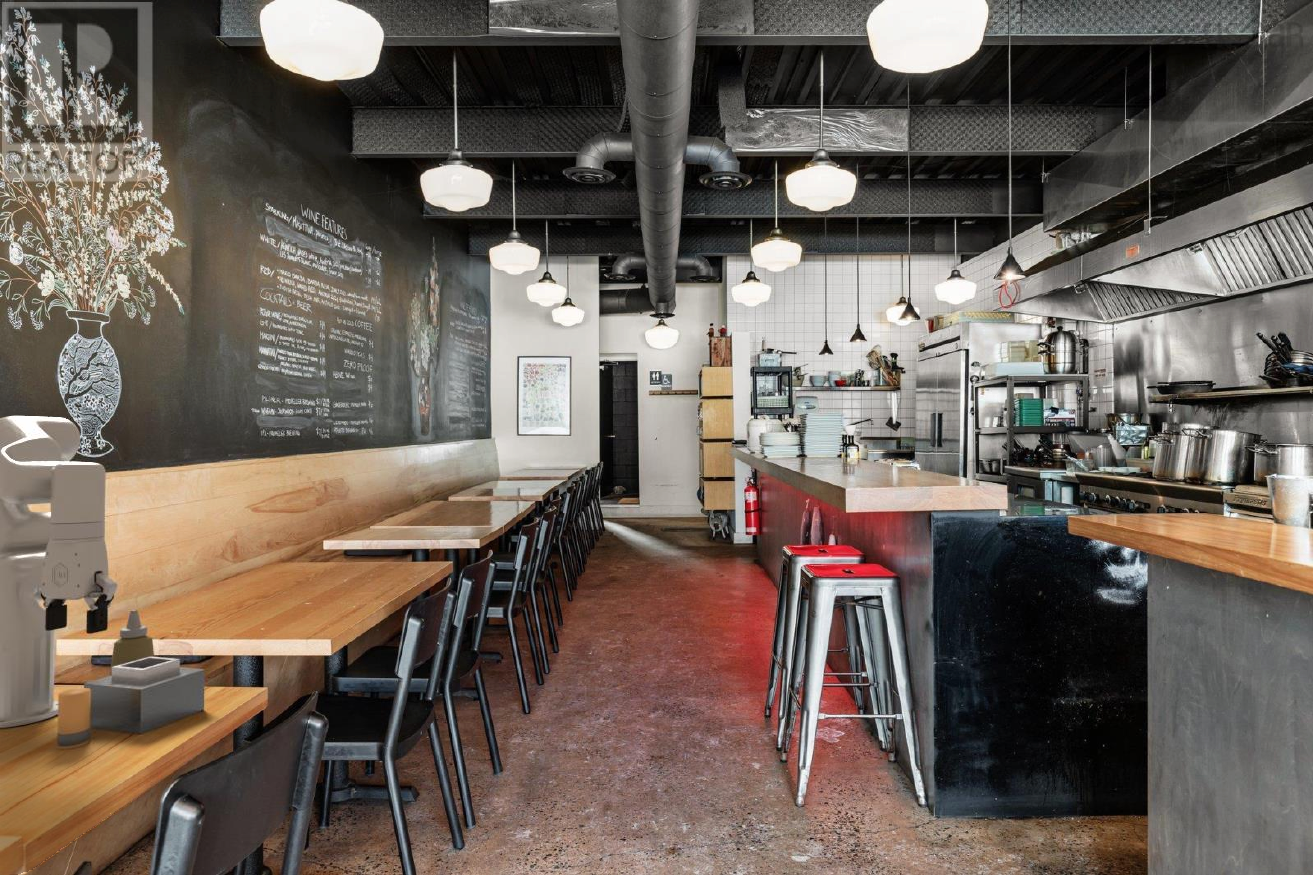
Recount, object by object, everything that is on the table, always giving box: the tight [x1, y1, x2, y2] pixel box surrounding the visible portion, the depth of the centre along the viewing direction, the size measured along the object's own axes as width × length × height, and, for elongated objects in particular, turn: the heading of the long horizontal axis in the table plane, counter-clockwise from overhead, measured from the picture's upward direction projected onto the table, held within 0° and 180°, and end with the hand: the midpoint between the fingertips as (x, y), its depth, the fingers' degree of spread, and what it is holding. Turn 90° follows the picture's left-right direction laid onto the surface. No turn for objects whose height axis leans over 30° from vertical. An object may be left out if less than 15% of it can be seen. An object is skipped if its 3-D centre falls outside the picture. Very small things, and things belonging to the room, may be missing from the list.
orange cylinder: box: [56, 687, 91, 750], centre depth 125 cm, size 4×4×9 cm
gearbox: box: [83, 656, 206, 735], centre depth 138 cm, size 14×13×10 cm
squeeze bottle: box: [109, 609, 155, 676], centre depth 151 cm, size 8×8×18 cm
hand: (76, 630), depth 126 cm, fingers open, 9 cm apart
